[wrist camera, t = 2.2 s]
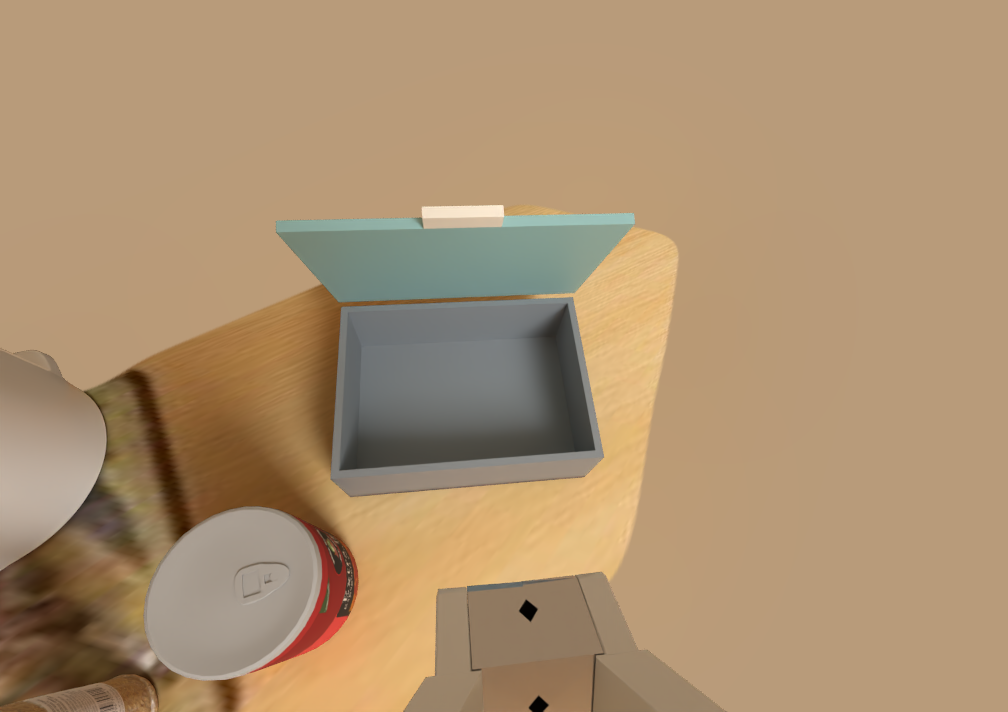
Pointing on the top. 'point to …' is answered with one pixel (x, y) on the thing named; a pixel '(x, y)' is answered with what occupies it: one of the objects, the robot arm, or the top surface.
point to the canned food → (247, 593)
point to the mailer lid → (454, 252)
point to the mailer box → (461, 396)
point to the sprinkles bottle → (95, 698)
